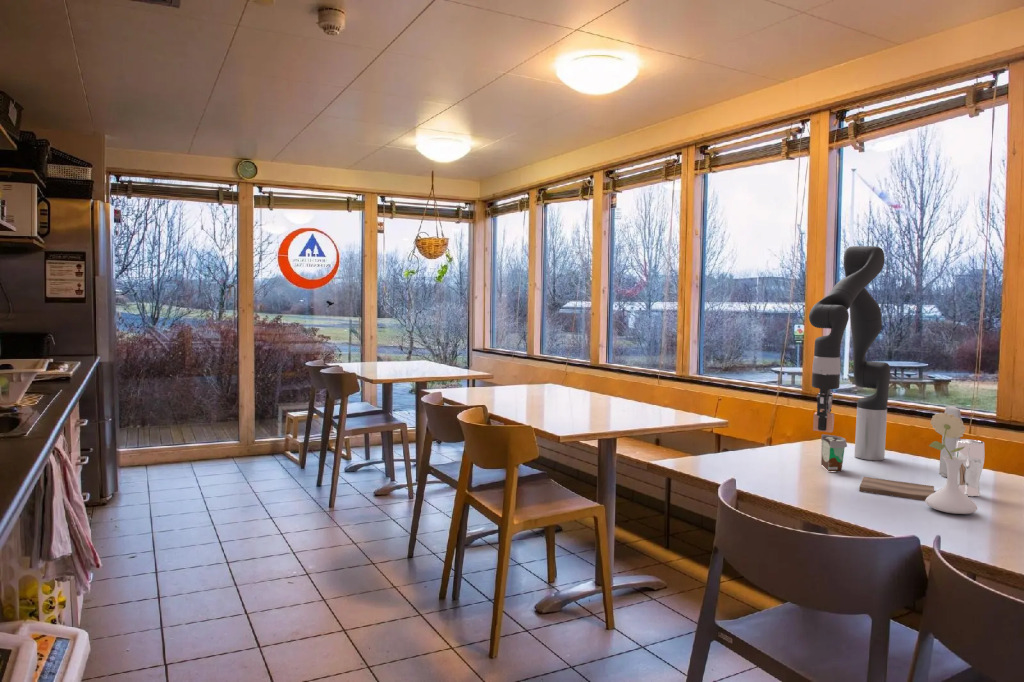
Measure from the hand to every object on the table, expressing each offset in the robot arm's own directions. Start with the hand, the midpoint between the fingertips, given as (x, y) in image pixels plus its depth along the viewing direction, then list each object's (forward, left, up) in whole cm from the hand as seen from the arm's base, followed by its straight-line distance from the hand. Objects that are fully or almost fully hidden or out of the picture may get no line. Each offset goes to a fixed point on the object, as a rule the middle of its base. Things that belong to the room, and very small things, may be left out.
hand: (823, 428), depth 208 cm
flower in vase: (+15, +32, -15) cm, 39 cm away
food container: (-17, +2, -15) cm, 23 cm away
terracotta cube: (0, 0, 0) cm, 0 cm away
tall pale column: (-28, +33, -15) cm, 46 cm away
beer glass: (-7, +37, -15) cm, 41 cm away
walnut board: (+1, +20, -15) cm, 25 cm away
